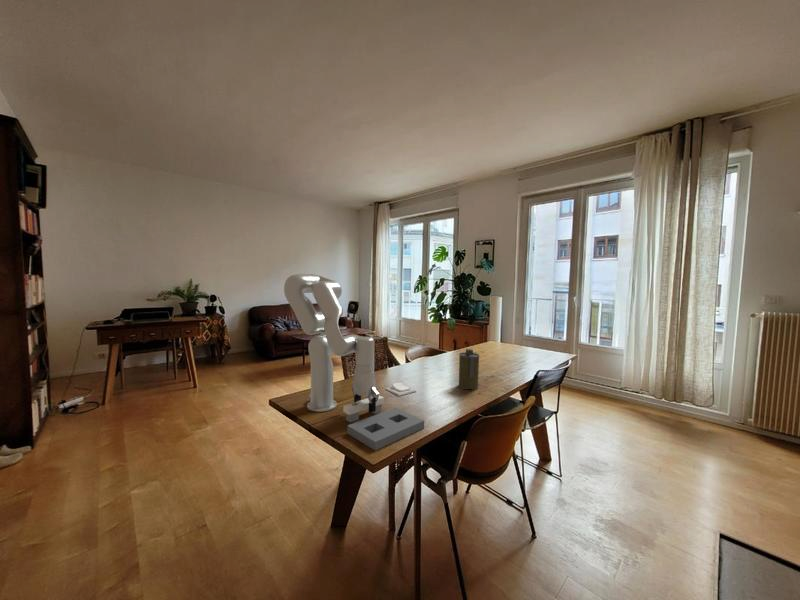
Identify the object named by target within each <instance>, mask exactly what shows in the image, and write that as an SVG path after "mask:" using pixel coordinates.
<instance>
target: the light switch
mask: <svg viewBox="0 0 800 600" xmlns="http://www.w3.org/2000/svg"><path fill="white" fill-rule="evenodd" d="M384 389H385V390H386V389H387V390H388V392H389V391H390V392H389V393H391V392H392V393H391V394H393V393H394V394H393V395H395V394H396V395H395V396H398V397H401V395H402V396H405V395H410V394H414V393H417V390H416V389H415V388H412V387H409V386H407V385H404V383H402V382H395V383H392V384H391V386H389V387H385V388H384ZM387 390H386V391H387Z"/></svg>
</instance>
